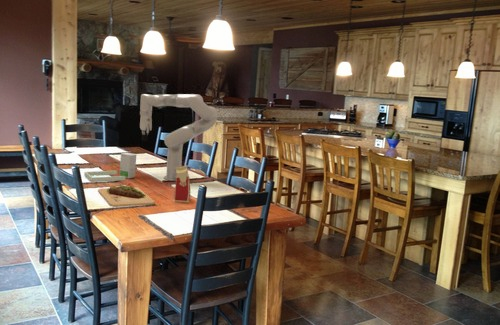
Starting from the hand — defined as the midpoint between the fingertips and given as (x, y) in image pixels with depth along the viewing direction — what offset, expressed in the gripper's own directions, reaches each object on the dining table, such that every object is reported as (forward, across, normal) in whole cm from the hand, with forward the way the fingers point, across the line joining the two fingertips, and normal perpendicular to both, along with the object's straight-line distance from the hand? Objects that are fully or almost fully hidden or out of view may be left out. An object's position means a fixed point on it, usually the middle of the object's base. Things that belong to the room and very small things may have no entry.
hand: (144, 140), depth 307 cm
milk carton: (+24, -63, +1) cm, 68 cm away
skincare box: (+24, 0, +11) cm, 27 cm away
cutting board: (+25, -49, +28) cm, 62 cm away
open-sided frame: (+24, 0, +26) cm, 35 cm away
